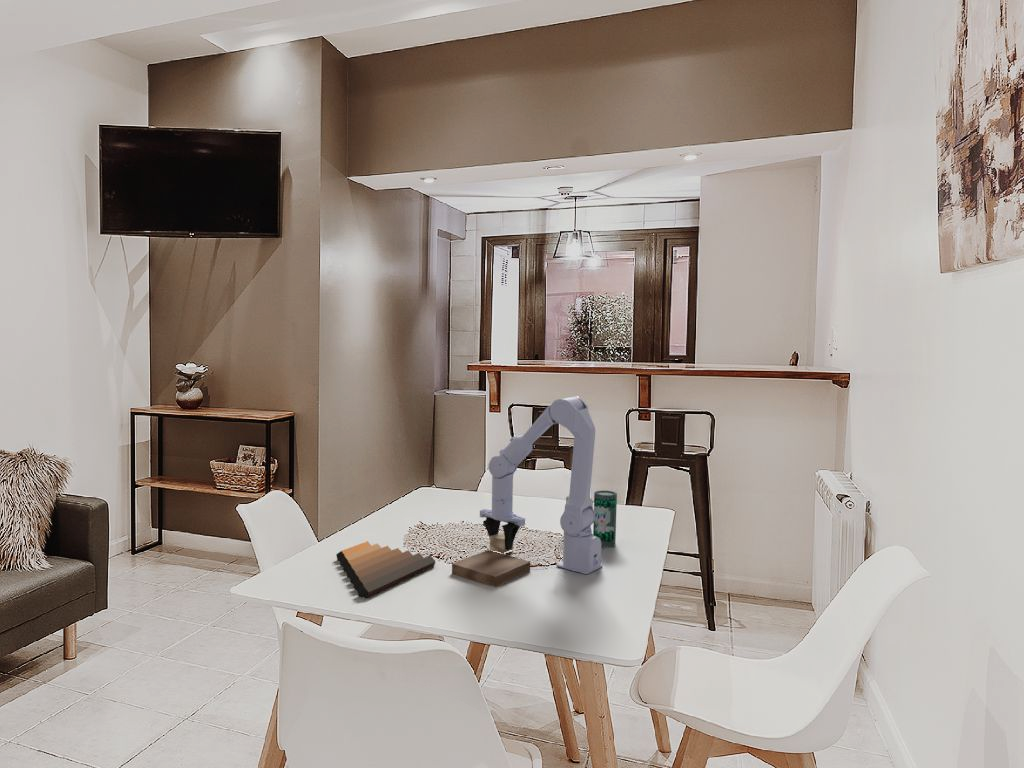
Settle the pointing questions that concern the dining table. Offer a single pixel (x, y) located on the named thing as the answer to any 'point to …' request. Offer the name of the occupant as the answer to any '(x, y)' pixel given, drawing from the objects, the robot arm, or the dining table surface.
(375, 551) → the pan flute
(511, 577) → the walnut base
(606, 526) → the can
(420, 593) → the dining table surface
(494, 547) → the maple block
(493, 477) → the robot arm
